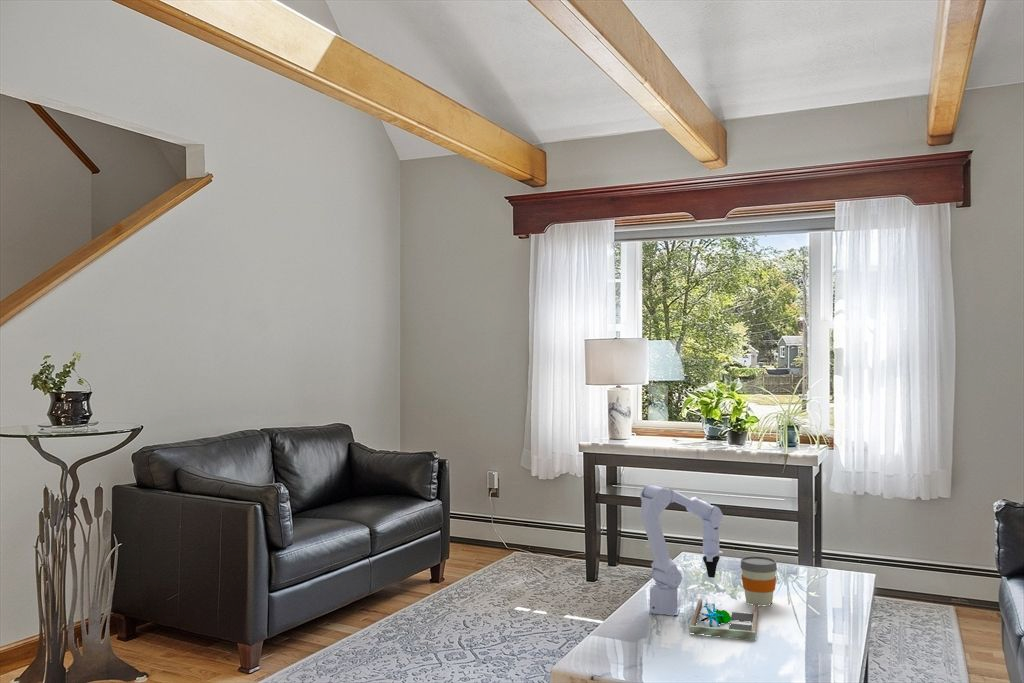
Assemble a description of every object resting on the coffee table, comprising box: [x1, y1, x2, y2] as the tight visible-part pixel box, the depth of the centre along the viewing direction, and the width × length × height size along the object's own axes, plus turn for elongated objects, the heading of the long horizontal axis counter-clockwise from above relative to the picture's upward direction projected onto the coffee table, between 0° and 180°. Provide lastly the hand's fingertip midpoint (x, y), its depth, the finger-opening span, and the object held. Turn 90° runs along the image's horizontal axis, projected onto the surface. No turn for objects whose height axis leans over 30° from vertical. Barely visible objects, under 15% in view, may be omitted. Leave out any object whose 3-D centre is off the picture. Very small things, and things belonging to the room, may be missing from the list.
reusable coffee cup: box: [740, 555, 778, 607], centre depth 296 cm, size 12×12×15 cm
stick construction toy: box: [700, 602, 732, 627], centre depth 275 cm, size 12×7×8 cm
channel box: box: [689, 598, 759, 641], centre depth 275 cm, size 20×30×2 cm, turn 162°
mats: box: [728, 612, 754, 631], centre depth 274 cm, size 7×20×1 cm, turn 162°
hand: (711, 577), depth 296 cm, fingers closed
